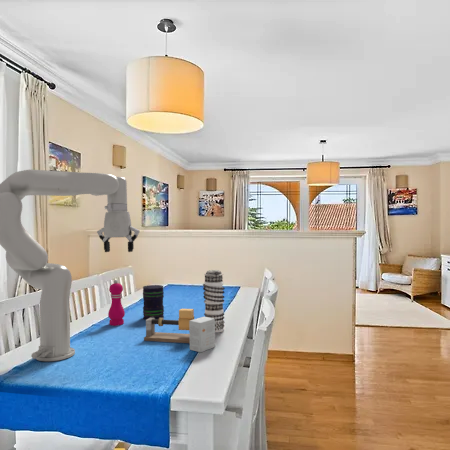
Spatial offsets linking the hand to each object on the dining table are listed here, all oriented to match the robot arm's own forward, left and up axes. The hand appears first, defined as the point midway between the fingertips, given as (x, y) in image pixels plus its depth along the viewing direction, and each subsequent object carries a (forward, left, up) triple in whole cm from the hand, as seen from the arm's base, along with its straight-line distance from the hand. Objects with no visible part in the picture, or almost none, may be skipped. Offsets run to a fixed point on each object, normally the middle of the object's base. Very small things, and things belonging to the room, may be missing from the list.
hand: (118, 251), depth 159 cm
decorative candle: (+18, -34, -34) cm, 52 cm away
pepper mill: (+20, +12, -34) cm, 42 cm away
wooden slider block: (+2, -27, -30) cm, 40 cm away
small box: (-7, -36, -34) cm, 50 cm away
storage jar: (+34, 0, -34) cm, 49 cm away
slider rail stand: (+2, -22, -34) cm, 41 cm away
